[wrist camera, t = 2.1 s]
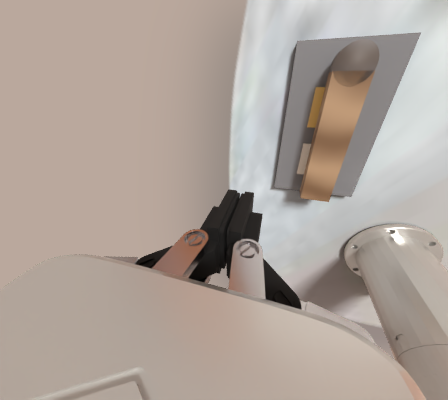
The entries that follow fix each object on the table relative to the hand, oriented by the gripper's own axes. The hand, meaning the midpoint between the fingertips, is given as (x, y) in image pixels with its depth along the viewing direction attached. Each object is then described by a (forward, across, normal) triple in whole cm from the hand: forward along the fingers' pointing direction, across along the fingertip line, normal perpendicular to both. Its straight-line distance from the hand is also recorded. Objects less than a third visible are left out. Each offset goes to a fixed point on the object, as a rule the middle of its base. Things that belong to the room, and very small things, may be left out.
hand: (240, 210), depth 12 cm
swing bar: (+16, -8, -2) cm, 18 cm away
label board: (+18, -8, -2) cm, 20 cm away
